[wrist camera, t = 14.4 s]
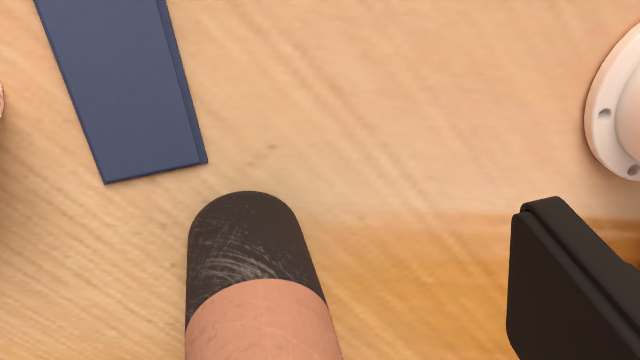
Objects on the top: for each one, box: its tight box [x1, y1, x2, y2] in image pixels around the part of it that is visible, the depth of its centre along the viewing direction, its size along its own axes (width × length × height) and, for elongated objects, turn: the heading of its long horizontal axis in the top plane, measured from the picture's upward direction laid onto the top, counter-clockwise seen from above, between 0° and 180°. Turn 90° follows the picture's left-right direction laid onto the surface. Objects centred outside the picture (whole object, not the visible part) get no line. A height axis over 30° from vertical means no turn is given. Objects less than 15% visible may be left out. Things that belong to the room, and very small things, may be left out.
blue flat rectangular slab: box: [33, 0, 208, 185], centre depth 31 cm, size 6×14×1 cm, turn 7°
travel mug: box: [185, 191, 343, 360], centre depth 31 cm, size 8×8×20 cm
